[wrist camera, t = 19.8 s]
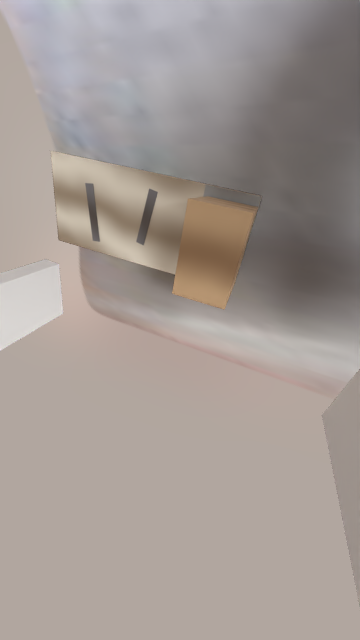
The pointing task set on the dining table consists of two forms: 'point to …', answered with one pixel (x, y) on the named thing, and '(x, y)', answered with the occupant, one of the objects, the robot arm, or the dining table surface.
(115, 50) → the dining table surface
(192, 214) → the brown cardboard box
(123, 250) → the board
